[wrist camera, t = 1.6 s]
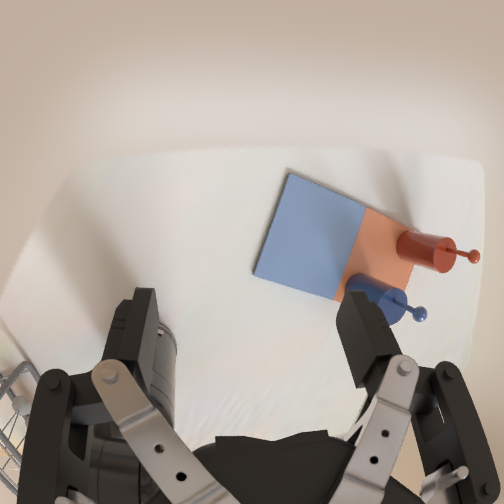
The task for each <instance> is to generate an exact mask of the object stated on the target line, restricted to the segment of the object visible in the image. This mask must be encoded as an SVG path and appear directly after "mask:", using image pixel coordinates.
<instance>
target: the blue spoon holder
mask: <svg viewBox="0 0 504 504" xmlns="http://www.w3.org/2000/svg"><path fill="white" fill-rule="evenodd" d="M347 290H364V291H365V293H366V295H367V297H368V299H369V301H370V302H373V301H374V302H375V303H376V304H377V305H378V306H379V307H380V308H381V309H382V311H383V313H384V315H385V317H386V320H387V322H388V324H389V325H393V324H395V323H397V322H398V321H399V320H400V319H401V318H402V317H403V315H404V313H405V311H406V310H407V311H409V312H411V313H413V318H414V320H415V321H417V322H422V321H424V320H425V319H426V317H427V310H426V309H425V308H424V307H421V306H419V307H417V308H413V307H411V306H409V305H407V296H406V294H405V292H404V291H403V290H401V289H399V288H397V287H395V286H393V285H390V284H388V283H386V282H384V281H381V280H379V279H377V278H375V277H372V276H370V275H368V274H366V273H357V274H355V275H353V276H352V277H351V278H350V279H349V280H348V282H347V284H346V286H345V292H346V291H347Z"/></svg>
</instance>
